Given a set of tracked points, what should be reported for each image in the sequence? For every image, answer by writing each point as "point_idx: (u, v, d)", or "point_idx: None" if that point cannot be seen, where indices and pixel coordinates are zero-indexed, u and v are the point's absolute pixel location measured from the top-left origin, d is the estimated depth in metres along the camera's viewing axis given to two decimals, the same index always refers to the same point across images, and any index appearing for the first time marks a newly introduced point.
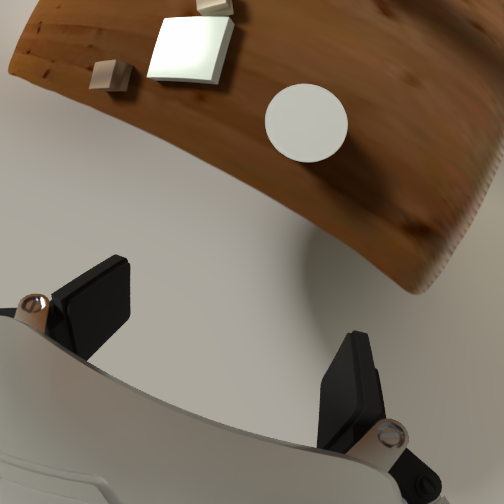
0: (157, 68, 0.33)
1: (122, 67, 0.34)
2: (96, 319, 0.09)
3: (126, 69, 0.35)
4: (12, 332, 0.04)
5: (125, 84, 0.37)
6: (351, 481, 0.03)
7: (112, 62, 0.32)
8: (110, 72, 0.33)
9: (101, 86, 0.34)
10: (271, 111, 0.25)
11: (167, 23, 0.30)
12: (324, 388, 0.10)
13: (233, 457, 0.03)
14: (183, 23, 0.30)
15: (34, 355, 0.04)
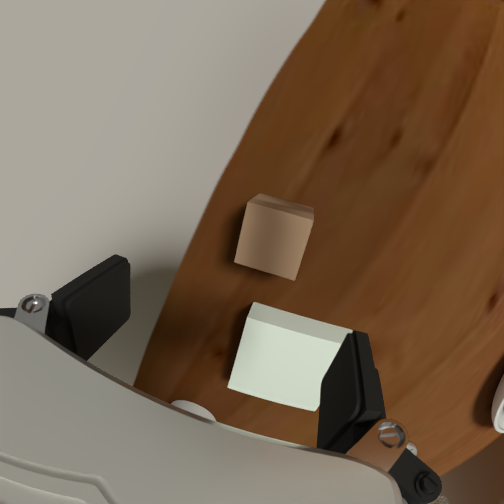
0: (258, 334, 0.26)
1: None
2: (96, 319, 0.09)
3: None
4: (11, 332, 0.04)
5: None
6: (351, 481, 0.03)
7: (292, 271, 0.21)
8: (267, 266, 0.22)
9: (242, 241, 0.21)
10: None
11: None
12: (324, 388, 0.10)
13: (233, 456, 0.03)
14: None
15: (34, 355, 0.04)
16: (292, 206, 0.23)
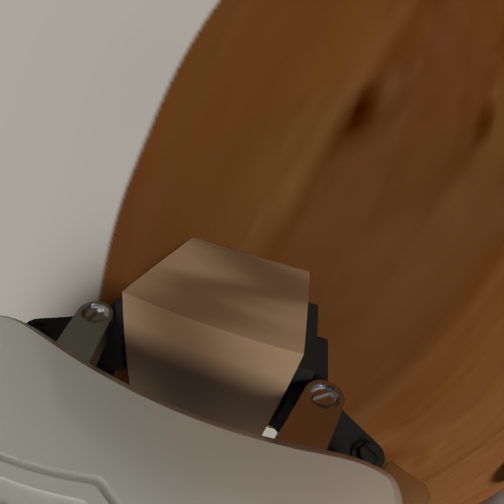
0: None
1: None
2: None
3: None
4: (12, 332, 0.04)
5: None
6: (351, 481, 0.03)
7: None
8: None
9: (134, 370, 0.08)
10: None
11: None
12: None
13: (234, 457, 0.03)
14: None
15: (34, 355, 0.04)
16: (255, 282, 0.09)
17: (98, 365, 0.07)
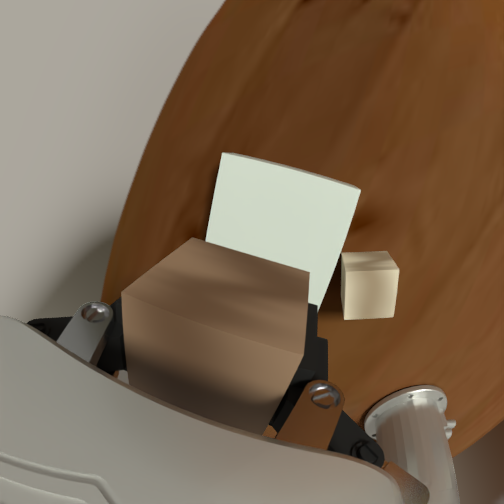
0: (236, 176, 0.21)
1: None
2: None
3: None
4: (11, 332, 0.04)
5: None
6: (351, 481, 0.03)
7: None
8: None
9: (133, 370, 0.08)
10: None
11: (344, 196, 0.20)
12: None
13: (233, 456, 0.03)
14: (330, 232, 0.21)
15: (34, 355, 0.04)
16: (255, 282, 0.09)
17: (98, 365, 0.07)
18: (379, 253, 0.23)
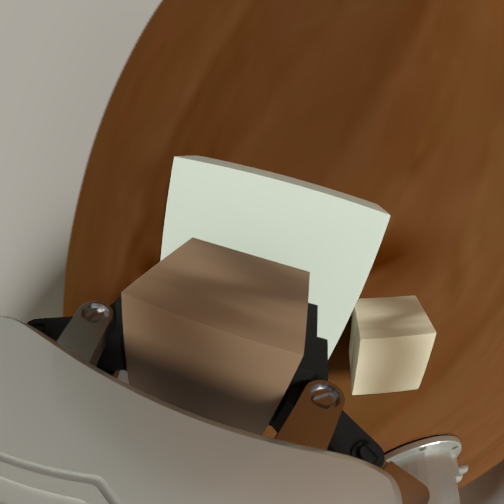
0: (194, 193, 0.14)
1: None
2: None
3: None
4: (12, 332, 0.04)
5: None
6: (351, 481, 0.03)
7: None
8: None
9: (133, 370, 0.08)
10: None
11: (364, 225, 0.12)
12: None
13: (233, 457, 0.03)
14: (340, 279, 0.13)
15: (34, 355, 0.04)
16: (255, 282, 0.09)
17: (98, 365, 0.07)
18: (405, 299, 0.16)
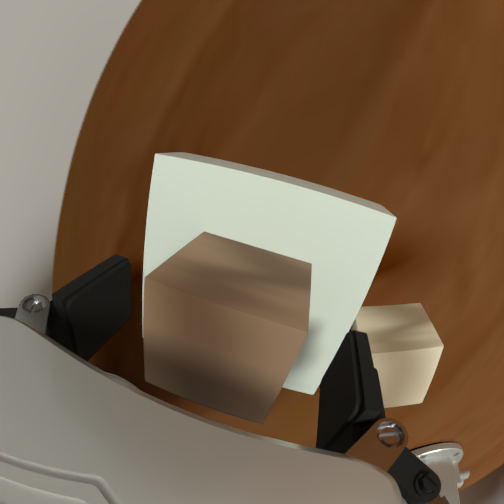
0: (177, 193, 0.12)
1: None
2: (97, 319, 0.09)
3: None
4: (11, 332, 0.04)
5: None
6: (351, 481, 0.03)
7: (256, 413, 0.09)
8: (207, 400, 0.09)
9: (150, 352, 0.09)
10: None
11: (367, 229, 0.11)
12: (324, 388, 0.10)
13: (233, 456, 0.03)
14: (340, 289, 0.12)
15: (34, 355, 0.04)
16: (263, 271, 0.10)
17: None
18: (409, 308, 0.14)
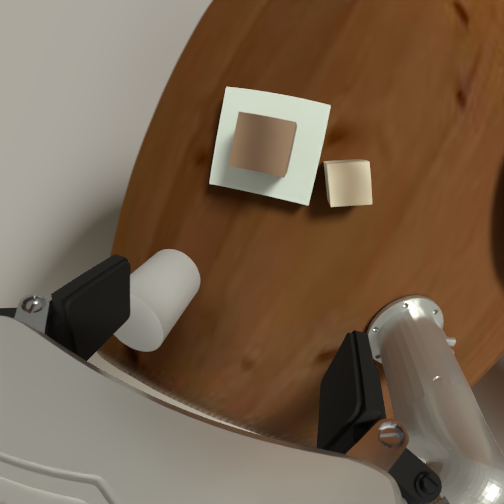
0: (237, 102, 0.26)
1: None
2: (96, 319, 0.09)
3: None
4: (11, 332, 0.04)
5: None
6: (351, 481, 0.03)
7: (281, 169, 0.23)
8: (258, 166, 0.23)
9: (235, 145, 0.23)
10: (130, 297, 0.26)
11: (319, 110, 0.25)
12: (324, 388, 0.10)
13: (233, 457, 0.03)
14: (311, 137, 0.26)
15: (34, 355, 0.04)
16: None
17: None
18: (354, 159, 0.28)
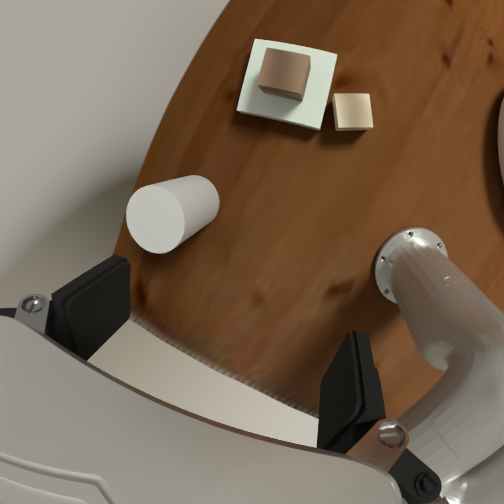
0: (263, 49, 0.29)
1: (293, 95, 0.28)
2: (96, 319, 0.09)
3: (292, 97, 0.29)
4: (11, 332, 0.04)
5: (271, 93, 0.30)
6: (351, 481, 0.03)
7: (298, 87, 0.26)
8: (280, 85, 0.26)
9: (262, 70, 0.26)
10: (158, 190, 0.29)
11: (327, 57, 0.28)
12: (324, 388, 0.10)
13: (233, 457, 0.03)
14: (322, 76, 0.29)
15: (34, 355, 0.04)
16: None
17: None
18: None
